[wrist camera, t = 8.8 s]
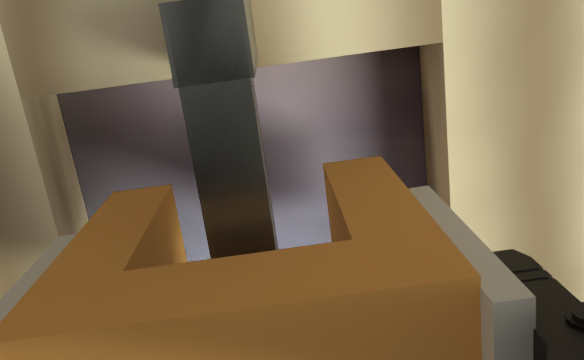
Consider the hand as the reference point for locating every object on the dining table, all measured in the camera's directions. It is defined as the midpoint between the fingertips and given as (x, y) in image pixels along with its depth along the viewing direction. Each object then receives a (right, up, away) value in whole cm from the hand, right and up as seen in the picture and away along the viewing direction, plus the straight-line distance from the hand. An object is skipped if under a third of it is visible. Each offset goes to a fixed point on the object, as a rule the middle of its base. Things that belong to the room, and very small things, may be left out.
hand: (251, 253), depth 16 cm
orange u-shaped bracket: (0, +1, +3) cm, 3 cm away
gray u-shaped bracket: (0, +2, +6) cm, 7 cm away
